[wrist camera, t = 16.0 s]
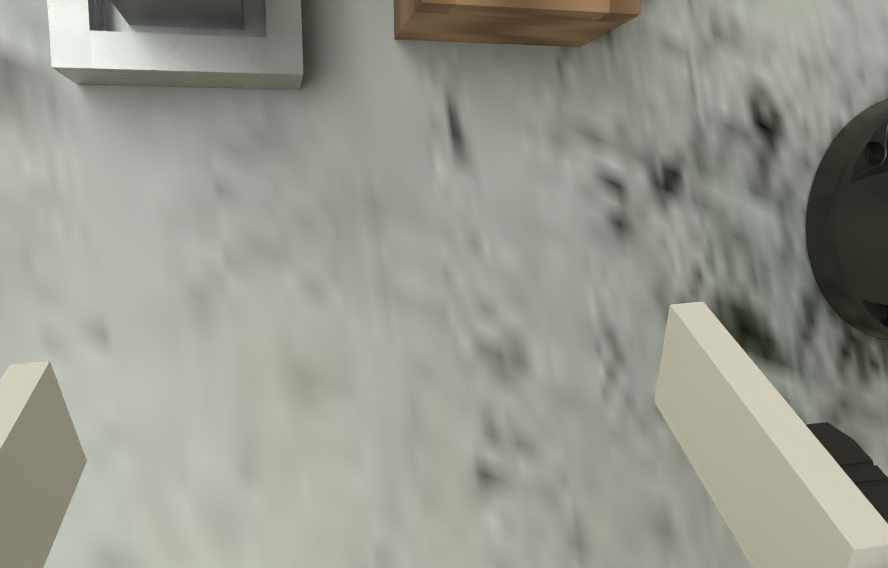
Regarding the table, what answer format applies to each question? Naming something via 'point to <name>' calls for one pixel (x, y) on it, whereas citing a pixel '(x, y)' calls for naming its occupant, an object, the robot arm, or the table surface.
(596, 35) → the upper socket
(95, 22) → the lower socket
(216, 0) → the plug
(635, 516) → the table surface
